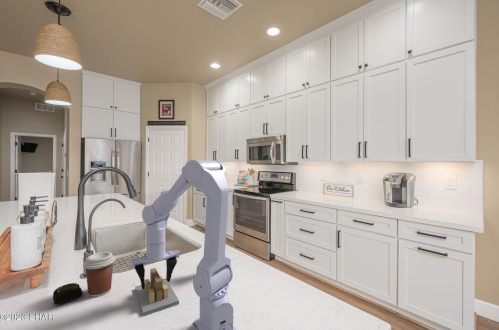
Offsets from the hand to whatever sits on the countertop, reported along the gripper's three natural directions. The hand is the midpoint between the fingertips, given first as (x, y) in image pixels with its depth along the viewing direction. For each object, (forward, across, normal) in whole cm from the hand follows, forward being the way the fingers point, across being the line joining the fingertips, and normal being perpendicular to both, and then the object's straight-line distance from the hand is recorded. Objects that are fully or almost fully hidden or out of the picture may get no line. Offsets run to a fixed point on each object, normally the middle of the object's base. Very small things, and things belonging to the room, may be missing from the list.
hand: (156, 284), depth 74 cm
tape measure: (+4, +23, -13) cm, 27 cm away
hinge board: (+4, 0, 0) cm, 4 cm away
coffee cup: (+4, +15, -13) cm, 20 cm away
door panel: (+3, 0, 0) cm, 3 cm away
